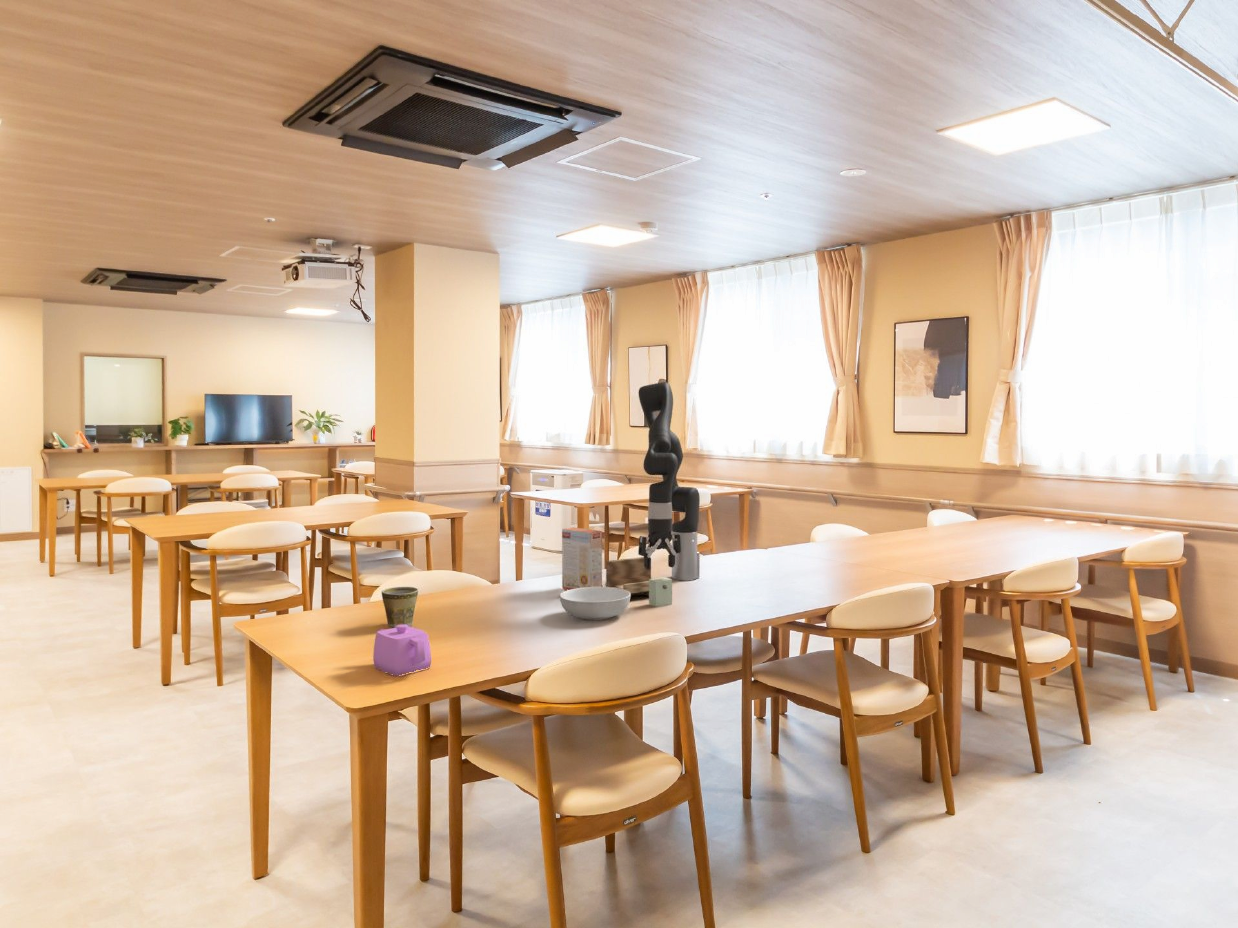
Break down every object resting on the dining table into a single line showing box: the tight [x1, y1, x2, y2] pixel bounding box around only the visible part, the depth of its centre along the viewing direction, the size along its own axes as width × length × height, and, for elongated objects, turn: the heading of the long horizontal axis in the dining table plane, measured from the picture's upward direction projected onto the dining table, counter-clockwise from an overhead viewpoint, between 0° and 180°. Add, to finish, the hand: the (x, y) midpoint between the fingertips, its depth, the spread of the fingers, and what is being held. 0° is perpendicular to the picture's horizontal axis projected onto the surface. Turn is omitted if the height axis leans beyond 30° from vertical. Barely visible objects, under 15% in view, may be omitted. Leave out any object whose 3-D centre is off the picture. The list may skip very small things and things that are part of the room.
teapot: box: [372, 625, 432, 677], centre depth 194 cm, size 18×10×10 cm, turn 45°
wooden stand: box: [605, 556, 652, 597], centre depth 268 cm, size 16×8×12 cm, turn 120°
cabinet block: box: [648, 576, 673, 608], centre depth 258 cm, size 6×5×8 cm
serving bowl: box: [559, 586, 632, 621], centre depth 243 cm, size 21×21×7 cm
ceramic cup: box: [381, 586, 419, 628], centre depth 234 cm, size 13×10×10 cm
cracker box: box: [561, 527, 603, 591], centre depth 278 cm, size 14×6×21 cm, turn 46°
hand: (659, 568), depth 258 cm, fingers open, 8 cm apart
